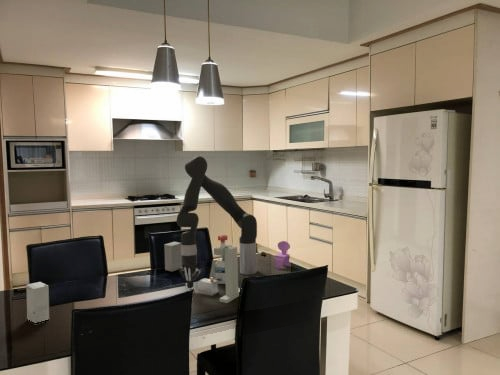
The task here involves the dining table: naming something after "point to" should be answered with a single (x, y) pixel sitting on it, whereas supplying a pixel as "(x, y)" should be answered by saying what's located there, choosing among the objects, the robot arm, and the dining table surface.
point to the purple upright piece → (282, 255)
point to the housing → (208, 286)
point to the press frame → (229, 272)
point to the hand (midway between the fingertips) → (190, 287)
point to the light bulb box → (220, 274)
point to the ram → (222, 261)
